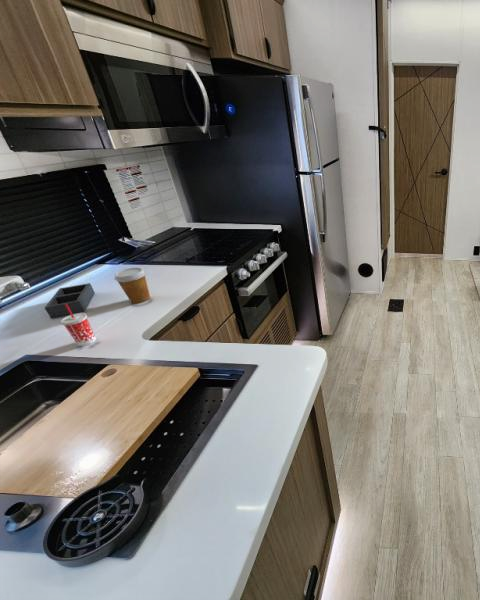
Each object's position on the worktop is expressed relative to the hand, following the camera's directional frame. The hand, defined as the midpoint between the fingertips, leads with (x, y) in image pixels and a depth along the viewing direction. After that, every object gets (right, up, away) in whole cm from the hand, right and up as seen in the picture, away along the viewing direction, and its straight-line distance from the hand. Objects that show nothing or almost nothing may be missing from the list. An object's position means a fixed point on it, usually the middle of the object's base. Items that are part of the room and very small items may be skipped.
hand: (13, 293), depth 96 cm
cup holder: (-13, -4, +31) cm, 34 cm away
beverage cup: (+12, -16, +10) cm, 22 cm away
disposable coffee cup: (+10, -2, +35) cm, 36 cm away
